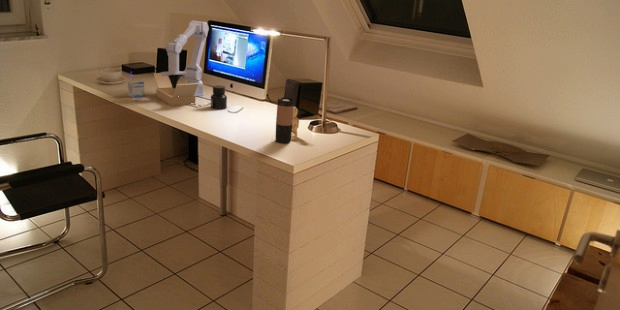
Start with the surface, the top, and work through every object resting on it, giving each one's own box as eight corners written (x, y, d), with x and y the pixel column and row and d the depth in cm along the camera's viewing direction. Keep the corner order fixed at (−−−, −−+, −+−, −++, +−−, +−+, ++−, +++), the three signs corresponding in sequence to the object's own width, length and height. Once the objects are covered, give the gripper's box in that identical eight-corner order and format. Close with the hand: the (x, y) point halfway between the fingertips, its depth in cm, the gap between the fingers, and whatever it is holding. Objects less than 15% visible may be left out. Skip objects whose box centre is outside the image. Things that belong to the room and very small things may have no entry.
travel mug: (291, 144, 222) (294, 101, 215) (274, 143, 221) (277, 100, 215) (290, 139, 229) (294, 97, 223) (274, 138, 229) (277, 96, 222)
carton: (179, 95, 291) (179, 87, 289) (195, 104, 275) (195, 95, 273) (156, 97, 282) (156, 88, 280) (171, 106, 266) (171, 97, 264)
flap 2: (193, 94, 273) (193, 95, 273) (172, 96, 265) (172, 96, 265) (198, 83, 265) (198, 83, 265) (177, 84, 258) (177, 85, 258)
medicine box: (132, 98, 276) (132, 83, 273) (128, 96, 278) (127, 81, 275) (144, 96, 282) (144, 81, 279) (140, 94, 284) (139, 80, 281)
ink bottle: (216, 104, 278) (216, 84, 274) (229, 107, 275) (230, 86, 271) (207, 108, 269) (207, 86, 265) (221, 110, 266) (221, 89, 262)
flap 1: (158, 88, 280) (158, 88, 281) (178, 86, 288) (178, 87, 288) (153, 73, 283) (153, 73, 283) (173, 72, 290) (173, 72, 291)
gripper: (164, 65, 266) (164, 90, 270) (188, 65, 274) (188, 88, 279) (159, 63, 271) (159, 87, 275) (183, 63, 280) (183, 86, 284)
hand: (173, 87), depth 278 cm, fingers closed
